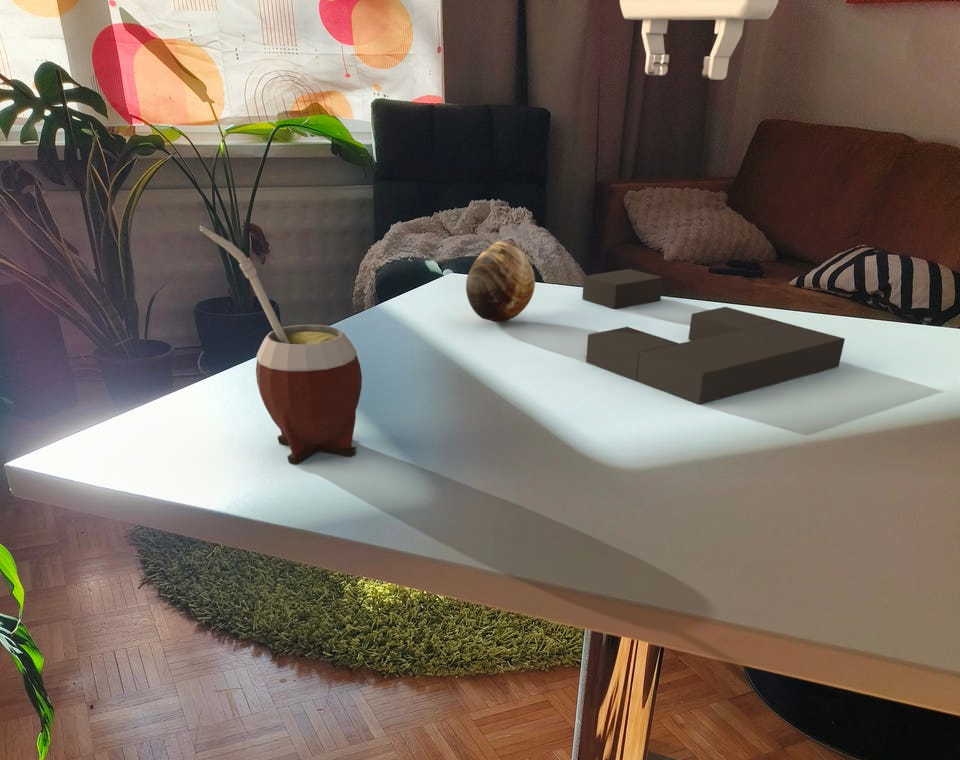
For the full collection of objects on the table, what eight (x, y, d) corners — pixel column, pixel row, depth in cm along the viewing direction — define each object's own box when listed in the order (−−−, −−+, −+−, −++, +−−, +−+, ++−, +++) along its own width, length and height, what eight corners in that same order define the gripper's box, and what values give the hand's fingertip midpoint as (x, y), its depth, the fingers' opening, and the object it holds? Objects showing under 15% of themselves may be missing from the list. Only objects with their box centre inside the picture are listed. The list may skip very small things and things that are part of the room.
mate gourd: (383, 439, 65) (369, 215, 57) (325, 478, 59) (300, 234, 51) (298, 424, 68) (272, 207, 59) (234, 460, 62) (195, 225, 54)
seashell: (504, 308, 98) (505, 229, 93) (548, 316, 95) (551, 235, 90) (450, 326, 91) (449, 242, 87) (496, 336, 89) (497, 249, 84)
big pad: (721, 332, 90) (725, 306, 88) (839, 366, 80) (845, 338, 79) (585, 362, 81) (587, 334, 80) (699, 404, 72) (703, 373, 70)
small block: (627, 291, 105) (629, 268, 103) (660, 300, 101) (663, 277, 100) (582, 299, 101) (583, 276, 100) (614, 309, 98) (616, 285, 96)
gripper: (817, -117, 73) (780, 82, 81) (670, -92, 88) (651, 73, 96) (756, -124, 71) (725, 81, 78) (616, -98, 86) (601, 72, 93)
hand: (683, 77), depth 87 cm, fingers open, 8 cm apart
